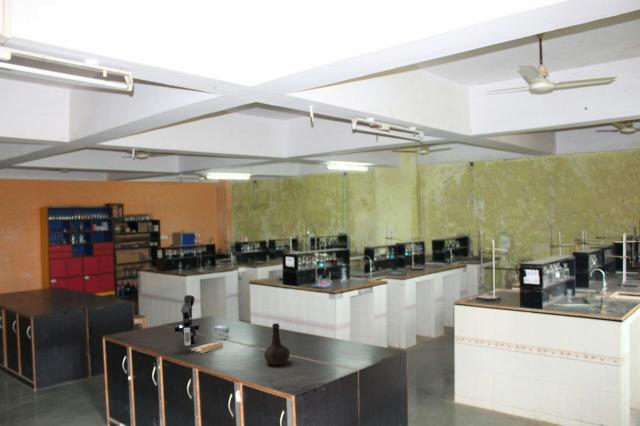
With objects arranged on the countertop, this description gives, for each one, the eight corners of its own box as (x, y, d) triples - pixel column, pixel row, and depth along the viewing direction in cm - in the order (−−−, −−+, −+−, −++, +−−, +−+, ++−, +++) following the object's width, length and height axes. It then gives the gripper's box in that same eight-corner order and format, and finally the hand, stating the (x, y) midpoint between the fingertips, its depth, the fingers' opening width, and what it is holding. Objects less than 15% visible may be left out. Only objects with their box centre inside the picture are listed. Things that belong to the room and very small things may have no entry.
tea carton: (184, 344, 398) (183, 327, 398) (190, 343, 399) (189, 327, 399) (184, 345, 394) (183, 329, 394) (190, 345, 395) (189, 328, 395)
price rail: (201, 351, 393) (200, 347, 393) (222, 345, 408) (221, 341, 408) (201, 351, 393) (201, 347, 393) (222, 345, 407) (222, 342, 407)
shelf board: (190, 351, 403) (189, 348, 403) (211, 345, 418) (210, 342, 418) (201, 354, 393) (201, 351, 393) (222, 348, 407) (222, 345, 407)
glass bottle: (273, 369, 346) (271, 328, 346) (260, 363, 361) (258, 324, 361) (294, 363, 357) (293, 323, 357) (281, 358, 371) (279, 320, 371)
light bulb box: (229, 338, 440) (229, 325, 440) (225, 340, 434) (224, 327, 434) (219, 337, 444) (219, 325, 444) (214, 339, 438) (214, 326, 438)
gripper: (173, 315, 398) (174, 332, 387) (198, 312, 403) (199, 329, 392) (174, 323, 405) (175, 340, 395) (198, 320, 410) (199, 337, 400)
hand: (187, 336), depth 395 cm, fingers closed on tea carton, 4 cm apart
